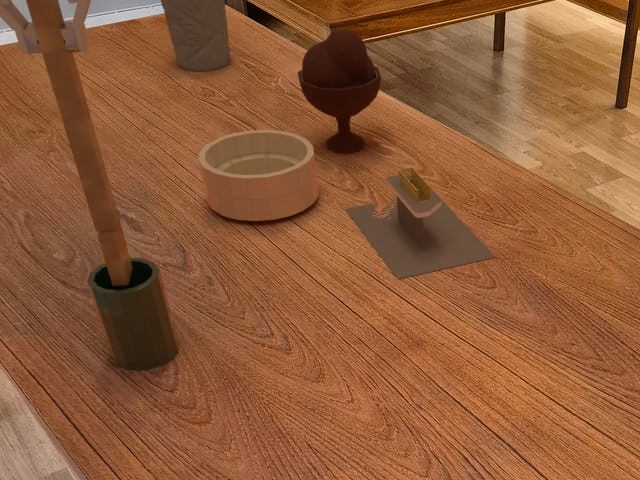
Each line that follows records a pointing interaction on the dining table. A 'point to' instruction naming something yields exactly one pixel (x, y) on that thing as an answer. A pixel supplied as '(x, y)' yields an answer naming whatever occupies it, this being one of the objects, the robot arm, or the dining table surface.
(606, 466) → the dining table surface
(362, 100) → the ice cream bowl
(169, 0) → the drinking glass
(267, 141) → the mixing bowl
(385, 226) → the platform
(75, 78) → the brown wooden stick
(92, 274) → the crock
